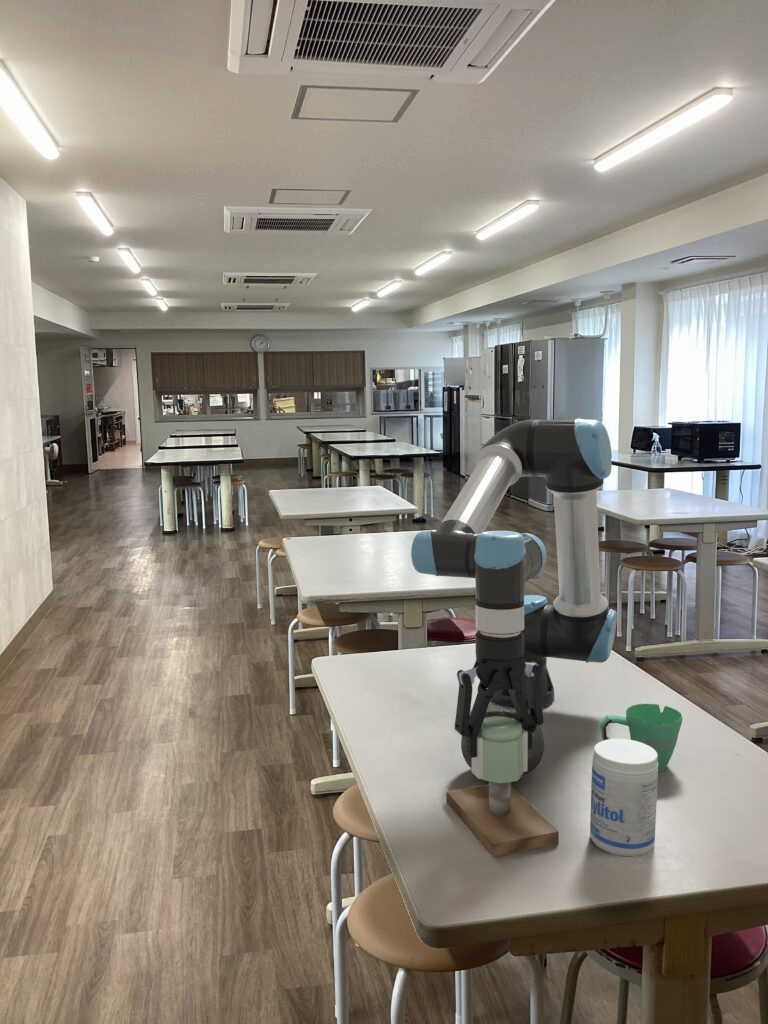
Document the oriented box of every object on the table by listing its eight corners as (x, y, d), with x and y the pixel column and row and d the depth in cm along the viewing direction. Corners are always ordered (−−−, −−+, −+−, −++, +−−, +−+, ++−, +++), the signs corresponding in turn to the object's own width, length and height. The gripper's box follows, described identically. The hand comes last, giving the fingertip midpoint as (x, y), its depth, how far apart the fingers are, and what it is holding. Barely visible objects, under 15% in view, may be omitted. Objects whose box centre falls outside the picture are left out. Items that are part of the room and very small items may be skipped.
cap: (509, 760, 136) (509, 710, 135) (529, 778, 130) (529, 725, 129) (470, 767, 134) (470, 716, 133) (488, 785, 128) (488, 731, 127)
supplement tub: (578, 844, 126) (580, 752, 124) (606, 820, 133) (608, 732, 131) (640, 866, 120) (642, 769, 118) (665, 839, 127) (668, 748, 125)
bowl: (446, 767, 154) (446, 715, 153) (515, 752, 160) (515, 702, 158) (487, 801, 140) (487, 744, 139) (560, 784, 146) (561, 729, 145)
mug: (671, 753, 158) (672, 703, 156) (688, 776, 148) (690, 723, 147) (593, 754, 158) (594, 703, 157) (605, 777, 148) (606, 723, 147)
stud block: (505, 792, 143) (505, 751, 142) (558, 843, 126) (559, 797, 125) (446, 802, 140) (446, 760, 139) (492, 856, 123) (492, 809, 122)
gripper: (544, 619, 136) (543, 753, 138) (431, 631, 130) (432, 771, 132) (568, 630, 129) (567, 771, 131) (449, 643, 122) (450, 791, 125)
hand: (499, 771), depth 132 cm, fingers closed on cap, 7 cm apart
